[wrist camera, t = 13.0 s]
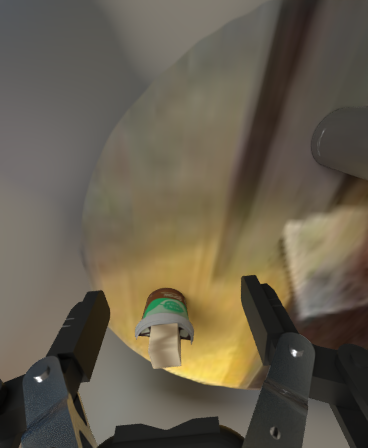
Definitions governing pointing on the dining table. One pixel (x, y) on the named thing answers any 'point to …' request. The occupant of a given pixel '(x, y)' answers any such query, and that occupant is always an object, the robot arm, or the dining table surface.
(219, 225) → the dining table surface
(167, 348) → the beige cube
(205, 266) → the dining table surface
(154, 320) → the food container
